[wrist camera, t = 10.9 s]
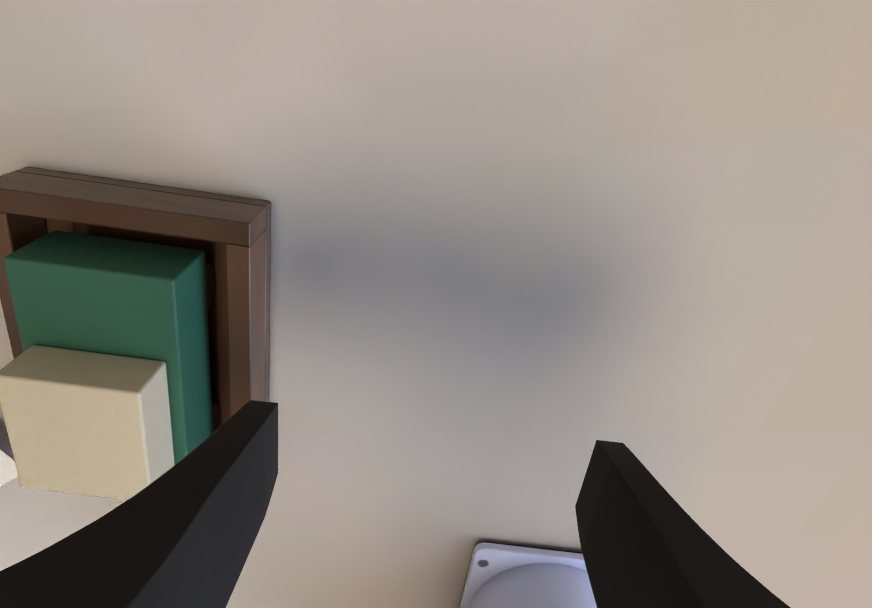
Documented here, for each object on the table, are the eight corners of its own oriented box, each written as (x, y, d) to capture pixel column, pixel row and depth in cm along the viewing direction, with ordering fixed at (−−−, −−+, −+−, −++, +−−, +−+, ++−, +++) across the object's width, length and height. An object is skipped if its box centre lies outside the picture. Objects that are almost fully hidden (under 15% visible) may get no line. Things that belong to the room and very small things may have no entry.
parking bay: (268, 464, 25) (251, 506, 23) (76, 441, 25) (40, 481, 23) (271, 201, 20) (249, 222, 18) (25, 166, 19) (-27, 184, 17)
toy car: (222, 440, 24) (168, 542, 19) (102, 425, 24) (17, 524, 19) (215, 240, 20) (144, 307, 15) (70, 220, 20) (-48, 282, 15)
